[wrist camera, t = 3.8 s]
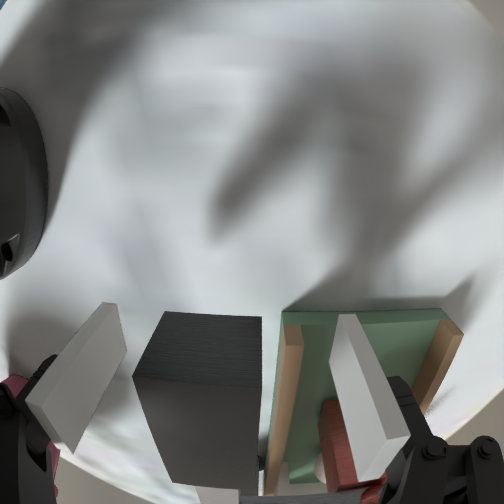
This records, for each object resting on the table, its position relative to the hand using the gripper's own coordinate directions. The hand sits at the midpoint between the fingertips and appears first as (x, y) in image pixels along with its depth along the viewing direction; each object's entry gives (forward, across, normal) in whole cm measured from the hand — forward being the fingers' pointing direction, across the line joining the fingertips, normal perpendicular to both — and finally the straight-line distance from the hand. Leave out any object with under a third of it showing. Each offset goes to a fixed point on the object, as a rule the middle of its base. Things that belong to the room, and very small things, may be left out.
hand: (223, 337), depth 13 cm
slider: (+4, +5, -11) cm, 12 cm away
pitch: (+6, +6, -14) cm, 16 cm away
